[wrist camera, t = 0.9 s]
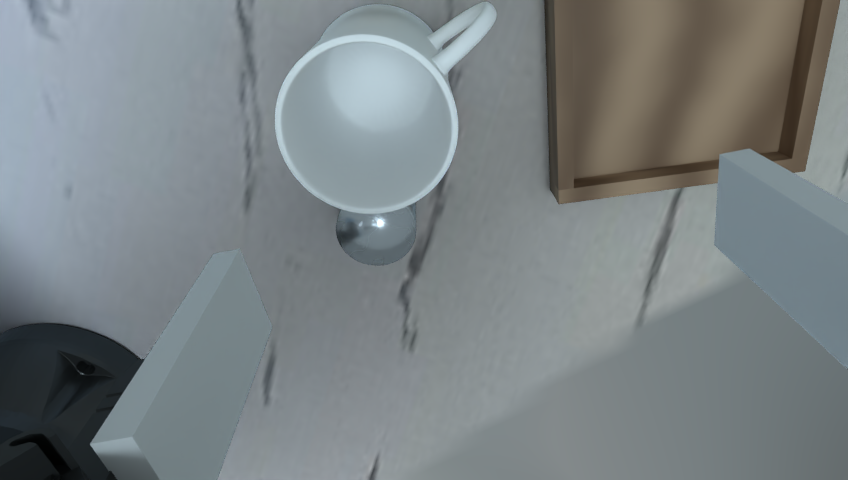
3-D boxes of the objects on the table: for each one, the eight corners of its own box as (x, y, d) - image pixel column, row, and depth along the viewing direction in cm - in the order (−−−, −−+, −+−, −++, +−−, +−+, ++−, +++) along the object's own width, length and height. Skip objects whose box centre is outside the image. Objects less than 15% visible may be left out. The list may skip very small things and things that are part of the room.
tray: (550, 189, 38) (558, 204, 36) (542, -70, 31) (552, -71, 28) (781, 158, 37) (804, 171, 35) (831, -115, 30) (865, -121, 28)
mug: (447, -61, 31) (467, -70, 20) (516, 70, 34) (564, 121, 24) (284, 55, 33) (226, 101, 23) (364, 165, 37) (345, 249, 26)
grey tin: (352, 234, 39) (345, 270, 35) (338, 171, 37) (328, 200, 33) (420, 225, 39) (421, 260, 35) (409, 161, 37) (409, 189, 32)
